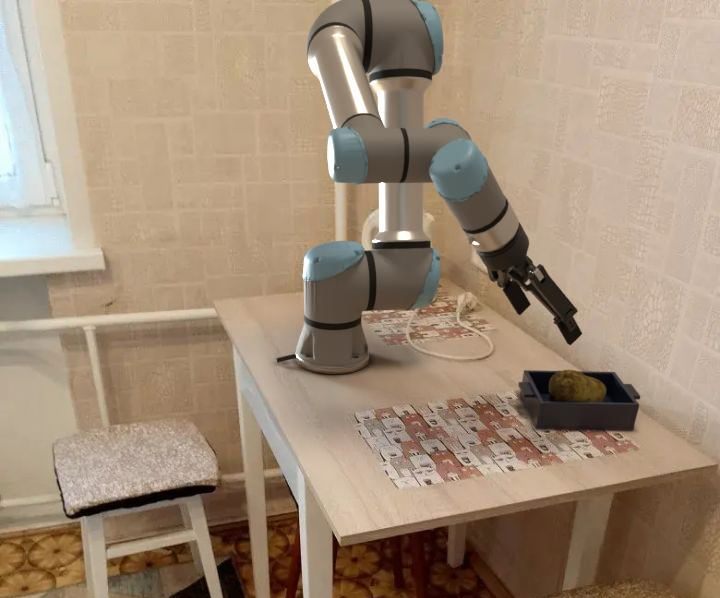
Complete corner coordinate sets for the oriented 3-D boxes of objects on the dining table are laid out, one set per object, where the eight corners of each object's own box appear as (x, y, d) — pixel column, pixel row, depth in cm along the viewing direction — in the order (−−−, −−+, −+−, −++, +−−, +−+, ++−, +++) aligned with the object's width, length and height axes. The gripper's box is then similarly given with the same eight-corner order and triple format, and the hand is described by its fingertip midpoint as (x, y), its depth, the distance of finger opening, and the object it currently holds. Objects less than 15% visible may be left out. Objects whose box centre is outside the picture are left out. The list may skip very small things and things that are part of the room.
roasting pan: (535, 428, 130) (540, 403, 127) (519, 394, 142) (523, 370, 139) (633, 430, 131) (639, 404, 128) (609, 396, 142) (614, 371, 140)
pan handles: (523, 397, 132) (524, 394, 131) (518, 385, 136) (518, 381, 136) (639, 399, 132) (640, 396, 132) (630, 387, 137) (631, 383, 136)
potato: (618, 416, 134) (628, 376, 129) (554, 423, 131) (562, 382, 126) (595, 396, 140) (604, 357, 136) (533, 402, 138) (540, 363, 133)
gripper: (435, 230, 120) (490, 312, 135) (529, 280, 102) (581, 369, 117) (468, 197, 120) (520, 283, 135) (569, 241, 102) (615, 335, 117)
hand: (548, 323), depth 126 cm, fingers open, 13 cm apart
